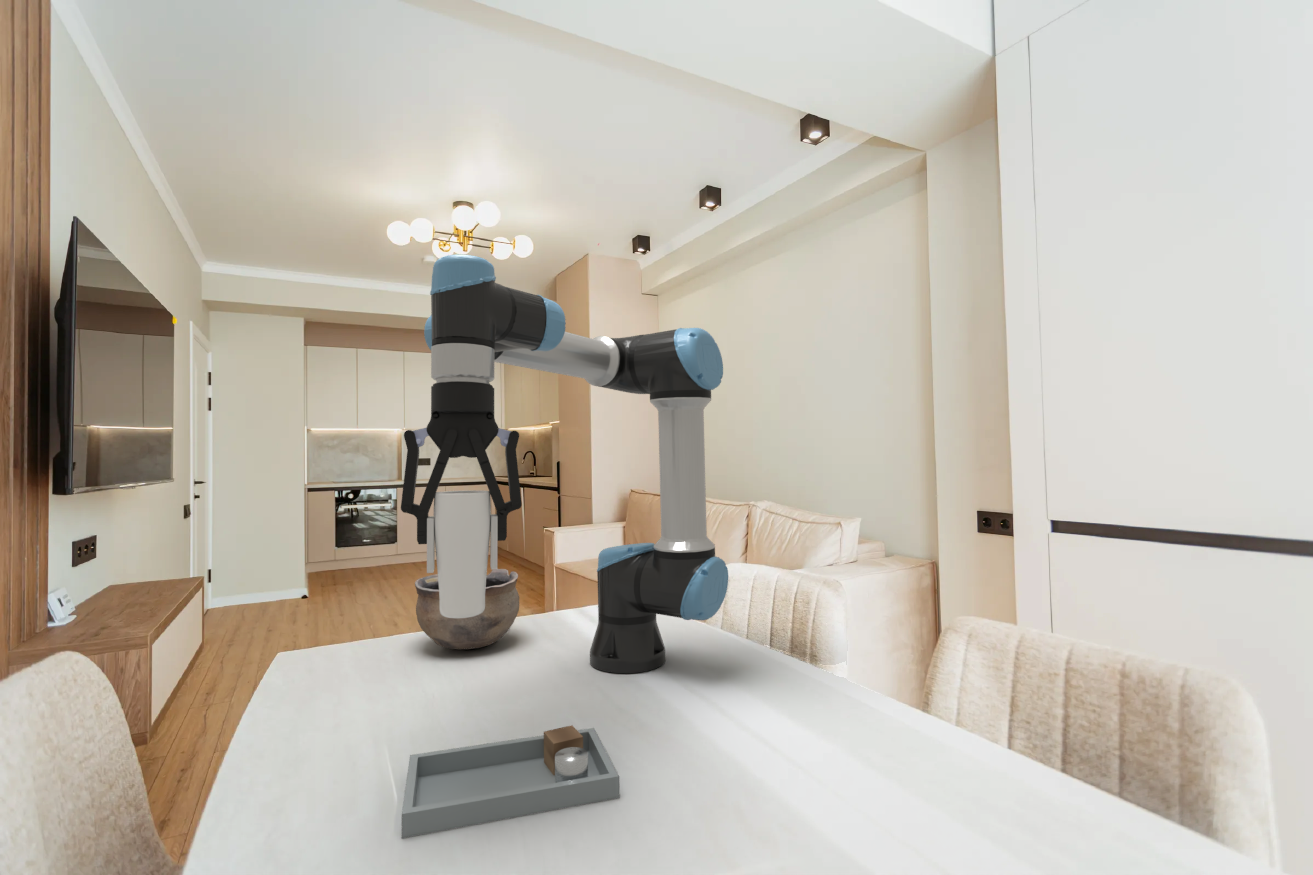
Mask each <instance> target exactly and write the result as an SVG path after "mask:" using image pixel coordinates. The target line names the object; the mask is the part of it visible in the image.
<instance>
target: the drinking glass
mask: <svg viewBox="0 0 1313 875" xmlns="http://www.w3.org/2000/svg"><path fill="white" fill-rule="evenodd" d="M491 501H492V498H491V495H490V491H489V490H444V491H436V493H435V496H434V499H433V516H434V537H435V557H436V569H437V574H438V584H439V597H440V613H441V615H442V616H444V617H447V618H468V617H473V616H477V615H479V614H481V613H482V612H483V611H484V609H485V589H486V576H487V575H488V574H487V572H488V565H489V564H488V562H489V561H488V560H489V552H490V528H491V514H492V503H491Z"/></svg>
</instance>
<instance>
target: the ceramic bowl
mask: <svg viewBox="0 0 1313 875" xmlns="http://www.w3.org/2000/svg"><path fill="white" fill-rule="evenodd" d="M518 577H519V574H518V573H517V571H510V573H509V570H508V569H506V568H497V569H491V571H490V572H489V573H488V574H487V576H486V589H485V609H484V611H483V612H482V613H481V614H479V615H477V616H473V617H468V618H447V617H444V616H442V615H441V613H440V597H439V584H438V573H436V574H430V575H426V576H424V577H420V578H418V579H416V580H415V581H414V587H415V589H416V593H417V599H416V605H415V613H416V619H417V622H418V625H419V628H421V631H423V633H424V634H425V635H426V636H428V637H429V638H430V639H431V640H432V641H433V642H434V643H435V644H437V645H438V646H441V647H443V648H446V649H450V650H472V649H479V648H484V647H487V646H490V645H493V644H494V643H496V642H498V641H499V640H500V639H501V638H502V637H503V636H504V635H505V634H507V632H508V631H509V630H510V628H511V627H512V626H513V624H514V623H515V620H516V618H517V617H518V614H519V611H520V595H519V592H518V589H517V587H516V586H517V581H518Z"/></svg>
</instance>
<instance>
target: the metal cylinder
mask: <svg viewBox="0 0 1313 875" xmlns="http://www.w3.org/2000/svg"><path fill="white" fill-rule="evenodd" d="M586 777H588V752H587V751H586V750H585V749H583V748H578V747H569V748H564V749H562V750H560V751H558V752H557V753H556V754H555V783H557V782H563V781H568V780H574V779H580V778H586Z"/></svg>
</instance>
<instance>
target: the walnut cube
mask: <svg viewBox="0 0 1313 875" xmlns="http://www.w3.org/2000/svg"><path fill="white" fill-rule="evenodd" d="M577 730H578V729H576V728H575V727H574V726H573V724H572V725H567V726H563V727H559V728H554V729H550V730H545V731H543V735H544V763H545V764H546V766H547V767H548V769H549V770H550V771H551V773H552V774H553V775H555V754H556V753H557V752H558V751H560V750H562V749H564V748H569V747H578V748H583V736H582V735H581V734H580V733H579V732H578V731H577Z"/></svg>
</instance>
